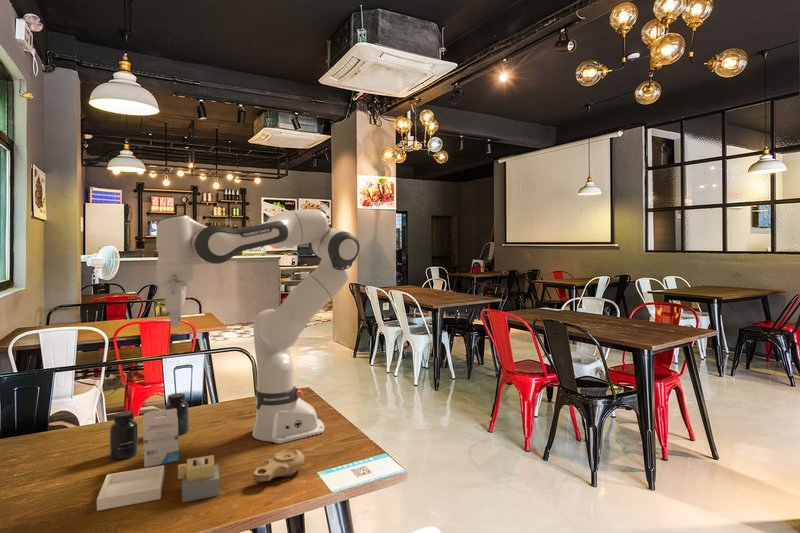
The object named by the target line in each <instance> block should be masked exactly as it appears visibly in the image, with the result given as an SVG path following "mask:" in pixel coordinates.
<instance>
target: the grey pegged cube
mask: <svg viewBox="0 0 800 533" xmlns="http://www.w3.org/2000/svg"><path fill="white" fill-rule="evenodd" d="M204 464H205V459H203V458H201V459H198V460H197V466H198V465H204ZM218 496H220V474H219V465H218V464H214V478H209V479H204V480H198V481H192V482H187V478H184V479H182V480H181V503H185V502H192V501H197V500H202V499H207V498H211V497H218Z"/></svg>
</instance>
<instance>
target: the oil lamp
mask: <svg viewBox="0 0 800 533" xmlns="http://www.w3.org/2000/svg"><path fill="white" fill-rule="evenodd" d="M304 463H305V455H304V454H303V453H302V451H300V450H299V449H283V450H280V451H278V452H277V453H275V455H273V456H272V457H271V458H268V459H267V460H266V465H264V466H259V467H258V466H257V467H255V468H254V471H253V473H252V475H253V478H254V479H255V480H256V481H258V482H266V481H271V480H272V479H275V478H277V477H290V476H293V475H295V474H296V472H297V471H298V470H300V469H301V468H302V466H303V465H304Z"/></svg>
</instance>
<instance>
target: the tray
mask: <svg viewBox="0 0 800 533" xmlns="http://www.w3.org/2000/svg"><path fill="white" fill-rule="evenodd" d="M164 480H165V465H163V464H162V465H156V466H149V467H144V468H139V469H133V470H127V471H121V472H115V473H107V474H106V476H105V479H104V482H103V484H102V485H101V489H100V490H99V493H98V496H97V498H96V511H103V510H109V509H113V508H119V507H124V506H129V505H135V504H140V503H146V502H150V501H156V500H160V499H162V490H163V486H164V485H163V484H164Z"/></svg>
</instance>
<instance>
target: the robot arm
mask: <svg viewBox="0 0 800 533" xmlns="http://www.w3.org/2000/svg"><path fill="white" fill-rule="evenodd" d="M155 242H156V245H155V246H156V250H157V254H158V256H157V261H156V281H157V282H162V284H161V285H162V288H164V292H165V293H164V294H165V295H164V297H165V298H164V302H165V304H164V305H165V306H164V308H165V312H166V313H169V319H170V328H172V329H176V328H179V325H180V324H179V323H181V321H182V319H181V318H182V317H181V316H182V308H183V307H184V306H185V302H186V296H187V287H189V282H190V281H193V280H194V277H193V276H194V268H193V266H194V264H193V263H194V262H193V261H194V260H199V261H202V262H206V263H208V264H209V263H210V264H223V263H225V262H227V261H229V260H230V259H232V258H233V257H234V256H236V255H238V254H239V253H241V252H245V251H248V250H254V249H256V248H261V247H262V248H263V247H267V246H272V247H275V248H291V247H297V246H301V245H304V244H307V245H308V247H309V249H310V252H311V253H312V254H313V255H314V256H316V257H317V258H320V261H319V264H318V265H317V267H316V268H315V269H314V270H313V271H312V272H310V273H309V274H308V275H307V276H306V277H305V278H304V279H302V280H301V281H300V282H299V283H298V284H297V285H296V286H295V287H293V289H291V290H290V291H289V293H288V295H287V297H286V298H285V299H284V300H283V301H282V303H281V304H280V305H279V306H278V307H277V308H276V309H275V308H267V309H264V310H262V311H260V312H259V313H258V314H256V316H255V317H254V318H253V322H252V330H253V341H254V342H253V343H254V353H255V358H256V360H255V361H256V383H257V384H256V385H257V386H256V388H257V389H256V390H255V399H254V400H255V408H256V412H255V413H256V415H255V420H254V427H253V430H252V434H251V435H252V438H254V439H256V440H258V441H264V442H272V443H275V444H283V443H288V442H291V441H297V440H300V439H305V438H307V437H308V436H309V437H312V435H313V436H316V434H317V435H321V434H323V433H324V432H325V430H324V429H325V428H326V427H325V423H324V422H323V421H322V420H321V419H319V418H318V415H317V412H316V409H315V408H314V407H313V406H312V405H311V404H310V403H308V402H306V401H305V400H303V399H302V397H303V396H304V393H303V391H302V390H300V389H299V388H298V387H297V386H294V363H293V360H292V354H291V349H290V348H291V347H292V346H293V345H295V343H296V342H297V340H298V338H299V336H300V335H301V333H302V332H303V331H304V329H305V328H306V326H308V325H309V323H310V322H311V320H312V319H313V318H314V316H315V315H317V313H318V312H320V311H321V310H322V309H323V308H324V307H326V305H327V304H328V303H329V302H330V301H331V300H332V299H333V298H334V297H335V296H336V295H337V294H338V293H339V292H340V291H341V289H343V287H344V286H346V283H347V282H348V280H349V271H348V269H349V268H351V267H352V265H353V263H354V262H355V261H356V259H357V258H358V256H359V252H360V242H359V240H358V239H357V237H356V236H355V235H354V234H352V233H350V232H349V231H344V230H342V229H338V228H333V227H330V225H329V219H328V217H327V216H326V214H325V212H323V211H322V210H320V209H317V208H304V209H300V208H299V209H294V210H293V209H292V210H287V211H284V212H283V211H282V212H279V213H277V214H276V213H275V214H274V215H271V216H270V217H268V218H267V220H266V221H265V222H262V223H259V224H254V225H249V226H243V227H238V228H231V227H226V226H223V225H215V224H214V225H210V226H207V225H204V224H202V223H200V222H197V221H196V220H194V219H193V218H191V217H190V216H189V215H186V214H179V215H178V214H175V215H169V216H165V217H163V218H162V219H160V220H159V222H158V224H157V228H156V241H155ZM323 431H324V432H323ZM322 432H323V433H322ZM320 433H321V434H320Z"/></svg>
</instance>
